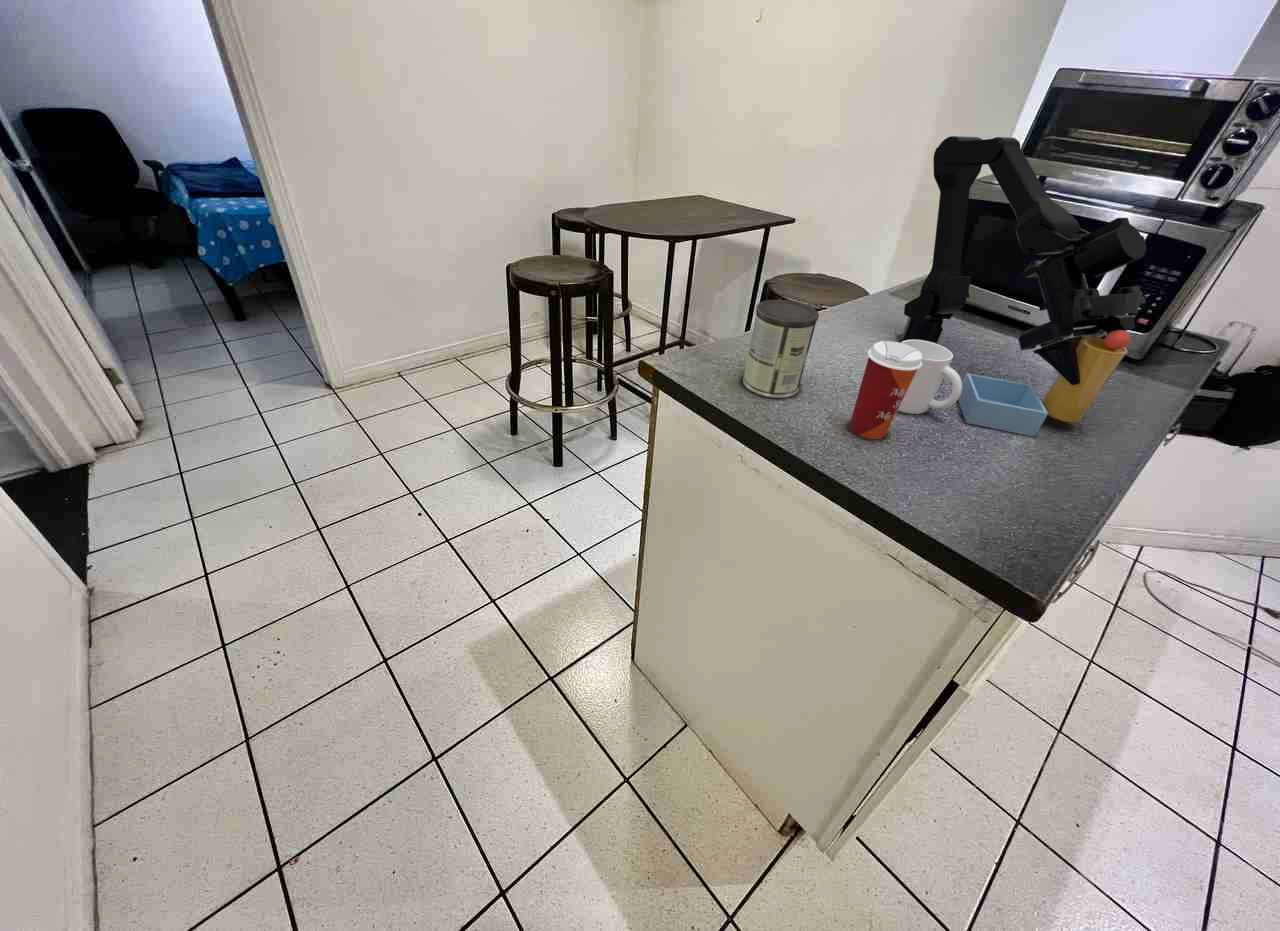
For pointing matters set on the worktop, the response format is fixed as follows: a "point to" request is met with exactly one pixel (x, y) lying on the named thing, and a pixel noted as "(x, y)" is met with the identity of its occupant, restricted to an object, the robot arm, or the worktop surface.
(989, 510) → the worktop surface
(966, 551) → the worktop surface
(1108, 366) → the tall tapered cup
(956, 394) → the mug
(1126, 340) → the toy ball
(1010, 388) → the bin
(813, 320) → the coffee can
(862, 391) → the paper cup
